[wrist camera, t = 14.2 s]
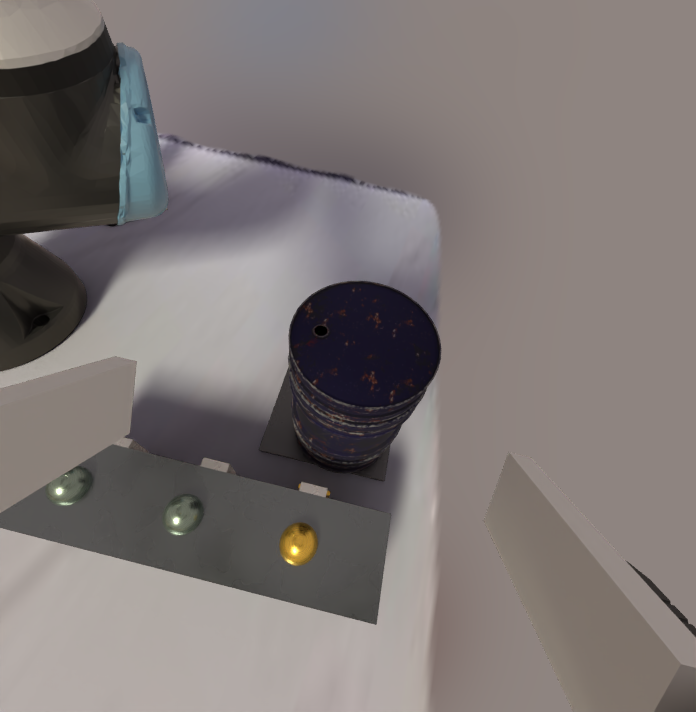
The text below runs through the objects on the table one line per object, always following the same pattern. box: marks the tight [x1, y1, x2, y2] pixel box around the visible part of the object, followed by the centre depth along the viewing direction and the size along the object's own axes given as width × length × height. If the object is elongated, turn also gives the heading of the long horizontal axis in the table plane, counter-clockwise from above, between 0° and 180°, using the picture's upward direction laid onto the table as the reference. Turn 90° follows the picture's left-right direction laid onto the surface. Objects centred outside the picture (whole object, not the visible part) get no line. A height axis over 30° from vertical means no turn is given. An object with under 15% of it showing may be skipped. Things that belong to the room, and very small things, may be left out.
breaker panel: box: [0, 367, 391, 625], centre depth 29 cm, size 26×22×9 cm
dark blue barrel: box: [288, 281, 441, 473], centre depth 28 cm, size 10×10×15 cm
